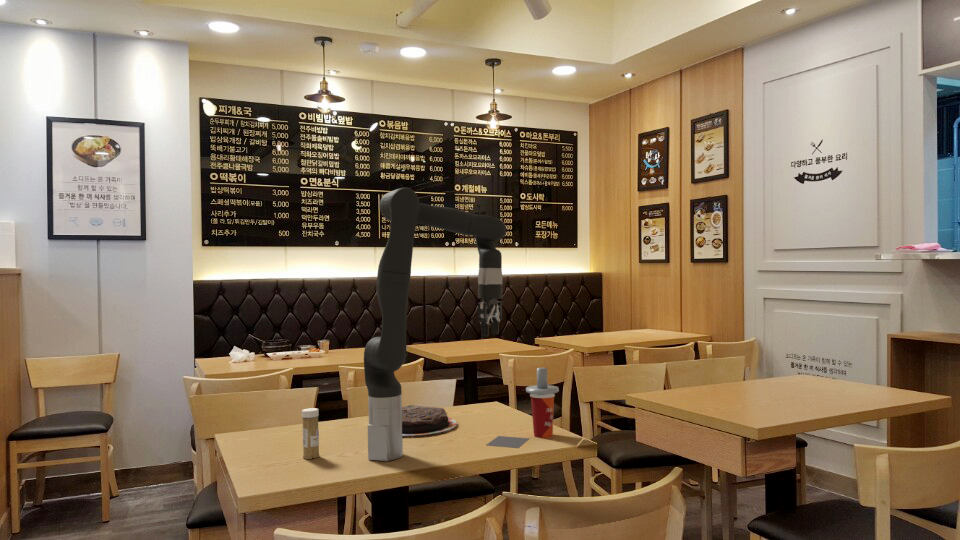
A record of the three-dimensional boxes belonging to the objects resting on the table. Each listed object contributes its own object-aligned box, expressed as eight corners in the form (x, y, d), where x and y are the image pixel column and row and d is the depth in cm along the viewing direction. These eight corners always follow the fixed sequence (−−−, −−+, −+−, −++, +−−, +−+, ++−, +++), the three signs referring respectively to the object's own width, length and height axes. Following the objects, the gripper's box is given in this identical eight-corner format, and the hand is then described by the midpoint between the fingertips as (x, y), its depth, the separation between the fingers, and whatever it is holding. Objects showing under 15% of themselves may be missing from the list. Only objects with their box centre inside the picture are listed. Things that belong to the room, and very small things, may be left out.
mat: (518, 449, 181) (518, 448, 181) (485, 446, 185) (485, 445, 185) (529, 439, 192) (529, 438, 192) (498, 437, 195) (498, 435, 195)
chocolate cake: (425, 443, 192) (425, 421, 192) (354, 433, 206) (354, 413, 206) (472, 423, 216) (472, 404, 216) (406, 415, 230) (406, 397, 230)
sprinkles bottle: (319, 458, 176) (318, 410, 176) (302, 460, 175) (301, 411, 175) (319, 454, 181) (318, 407, 181) (303, 455, 180) (302, 408, 180)
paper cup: (554, 440, 190) (553, 393, 190) (529, 439, 192) (528, 393, 192) (556, 433, 198) (555, 389, 198) (532, 433, 199) (531, 388, 199)
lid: (554, 395, 188) (553, 371, 188) (521, 393, 192) (521, 370, 192) (562, 389, 198) (561, 366, 198) (531, 387, 201) (531, 365, 201)
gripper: (487, 283, 205) (487, 333, 205) (469, 282, 192) (469, 336, 192) (509, 283, 202) (509, 334, 202) (493, 283, 189) (492, 337, 189)
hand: (490, 335), depth 197 cm, fingers open, 8 cm apart
